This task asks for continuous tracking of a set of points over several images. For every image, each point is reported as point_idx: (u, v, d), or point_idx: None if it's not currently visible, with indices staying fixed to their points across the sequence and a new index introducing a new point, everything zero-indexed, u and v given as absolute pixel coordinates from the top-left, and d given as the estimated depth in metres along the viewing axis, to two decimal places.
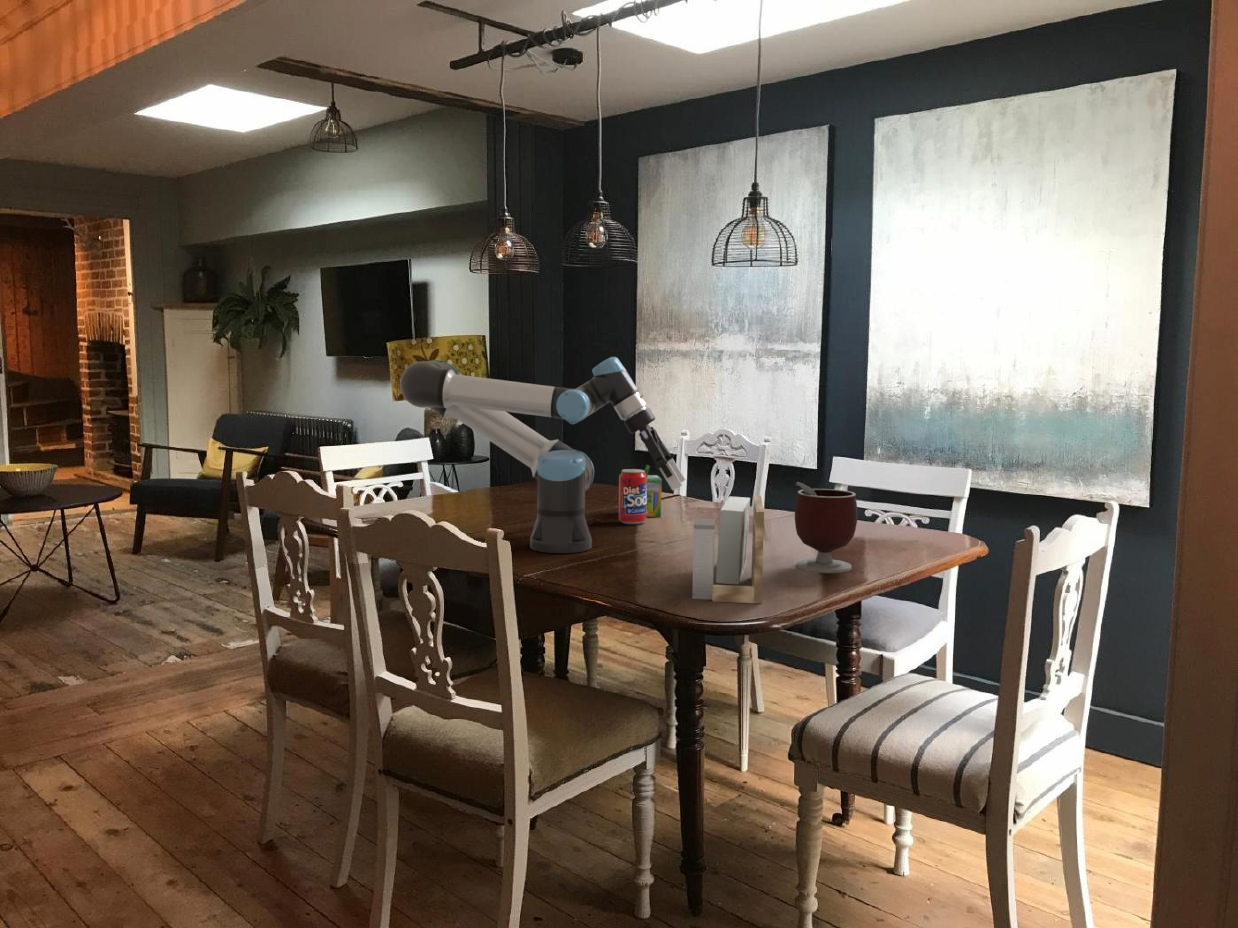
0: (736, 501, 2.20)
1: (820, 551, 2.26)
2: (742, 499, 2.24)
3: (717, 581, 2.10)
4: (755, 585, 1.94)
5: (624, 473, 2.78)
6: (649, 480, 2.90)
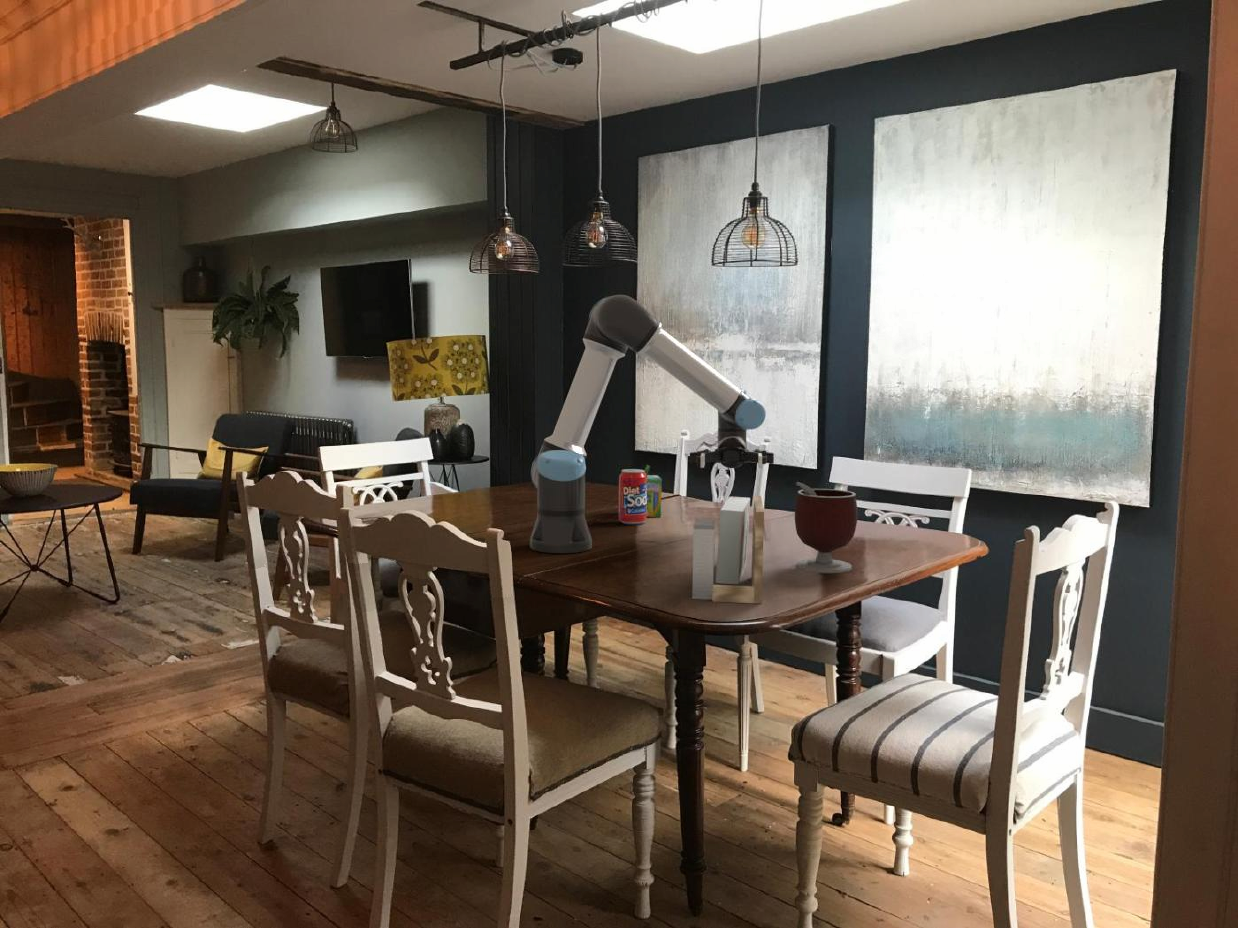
0: (736, 501, 2.20)
1: (820, 551, 2.26)
2: (742, 499, 2.24)
3: (717, 581, 2.10)
4: (755, 585, 1.94)
5: (624, 473, 2.78)
6: (649, 480, 2.90)
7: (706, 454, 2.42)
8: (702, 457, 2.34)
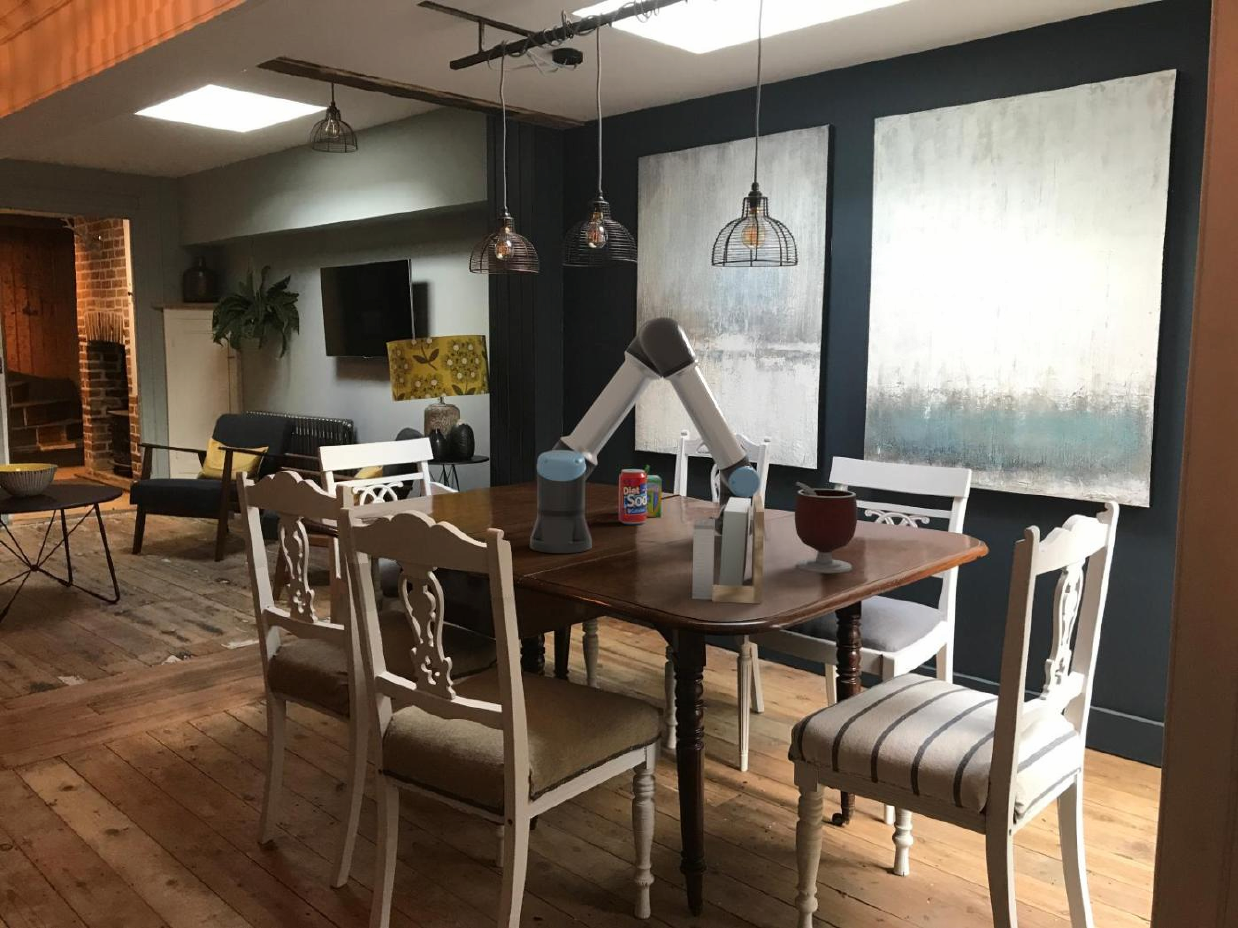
0: (738, 502, 2.18)
1: (820, 551, 2.26)
2: (743, 500, 2.22)
3: (721, 583, 2.08)
4: (755, 585, 1.94)
5: (624, 473, 2.78)
6: (649, 480, 2.90)
7: None
8: None
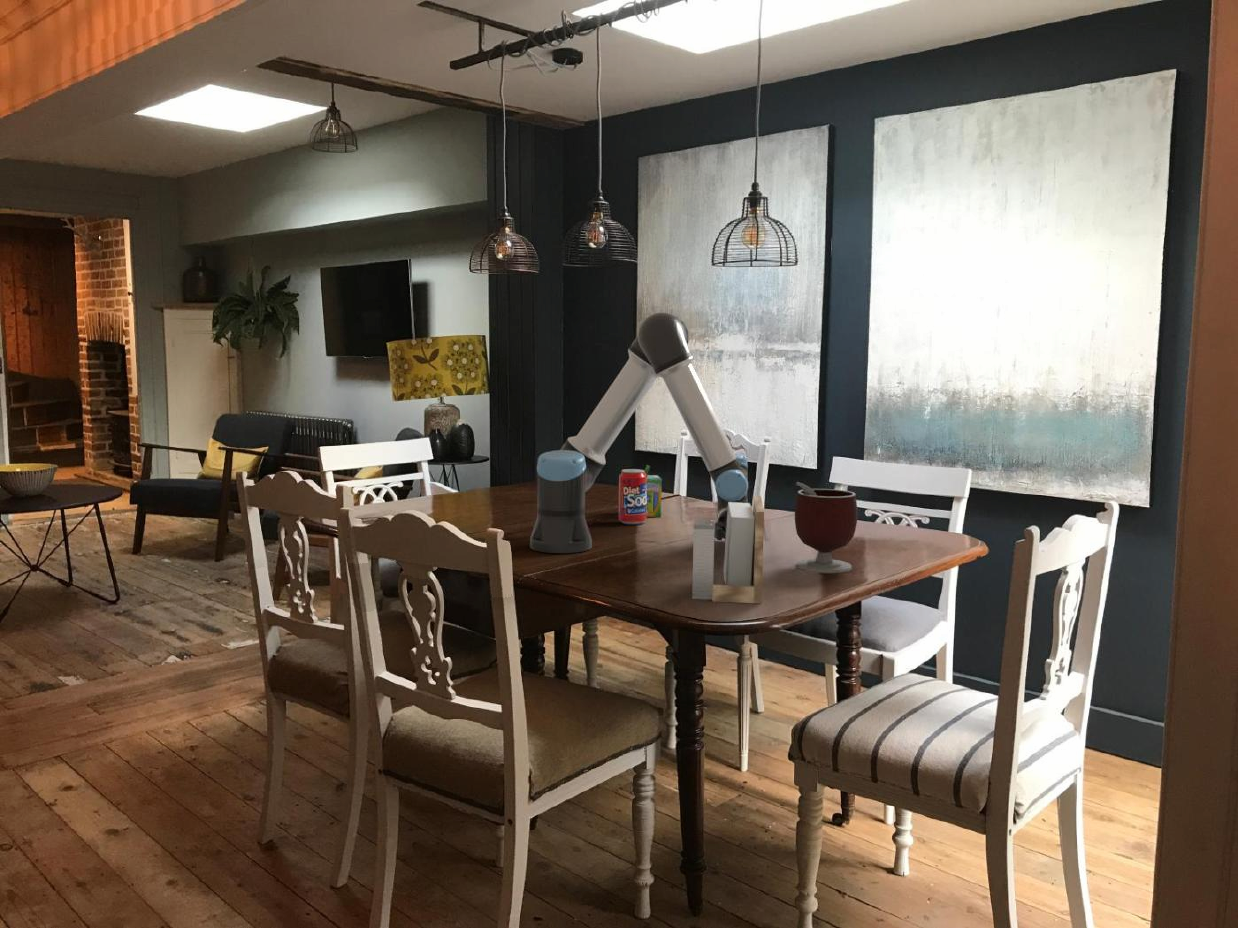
0: (740, 507, 2.11)
1: (820, 551, 2.26)
2: (744, 505, 2.15)
3: None
4: (755, 585, 1.94)
5: (624, 473, 2.78)
6: (649, 480, 2.90)
7: None
8: None
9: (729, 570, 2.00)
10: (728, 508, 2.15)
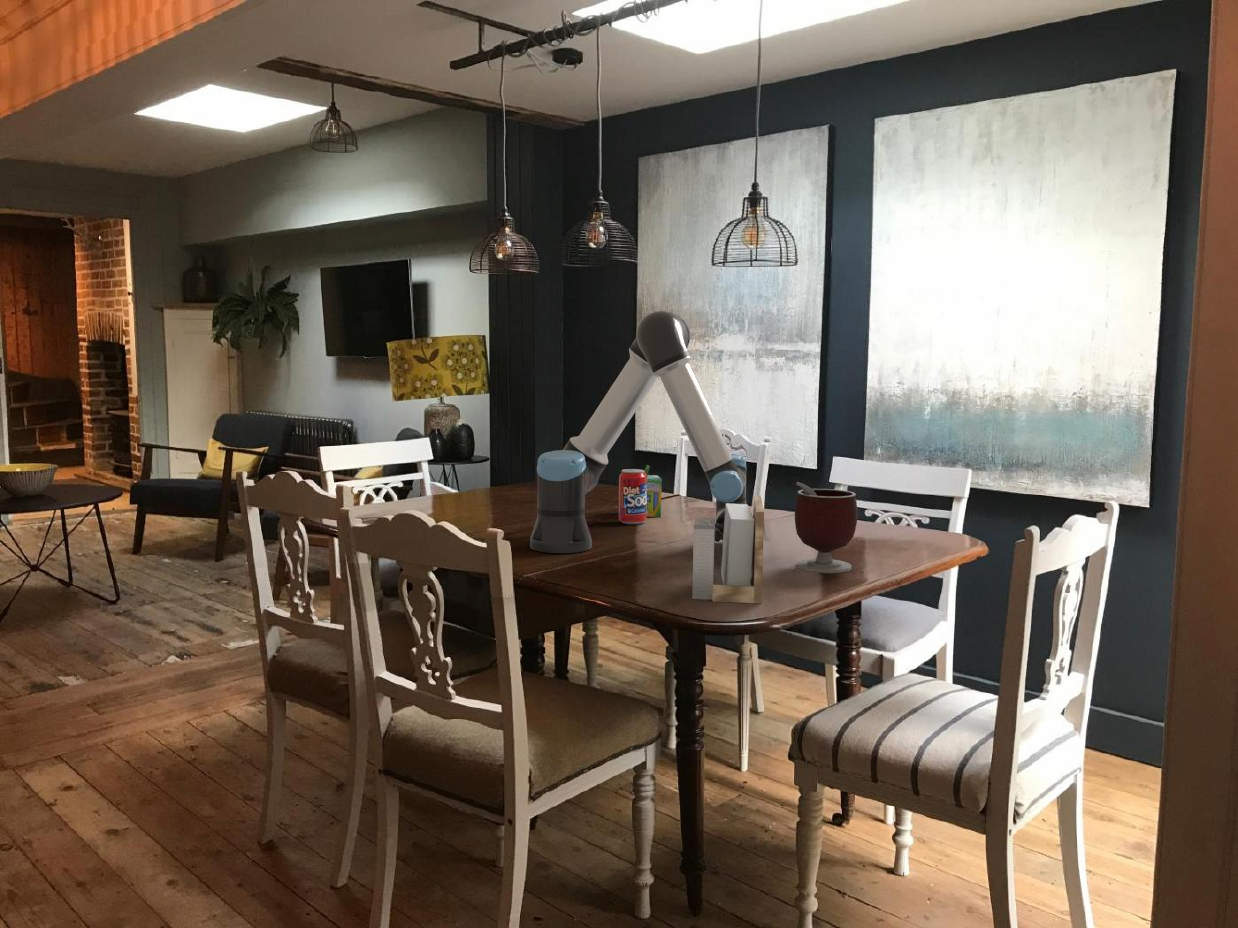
0: (738, 508, 2.09)
1: (820, 551, 2.26)
2: (742, 506, 2.13)
3: None
4: (755, 585, 1.94)
5: (624, 473, 2.78)
6: (649, 480, 2.90)
7: None
8: None
9: (728, 572, 1.98)
10: (726, 509, 2.12)
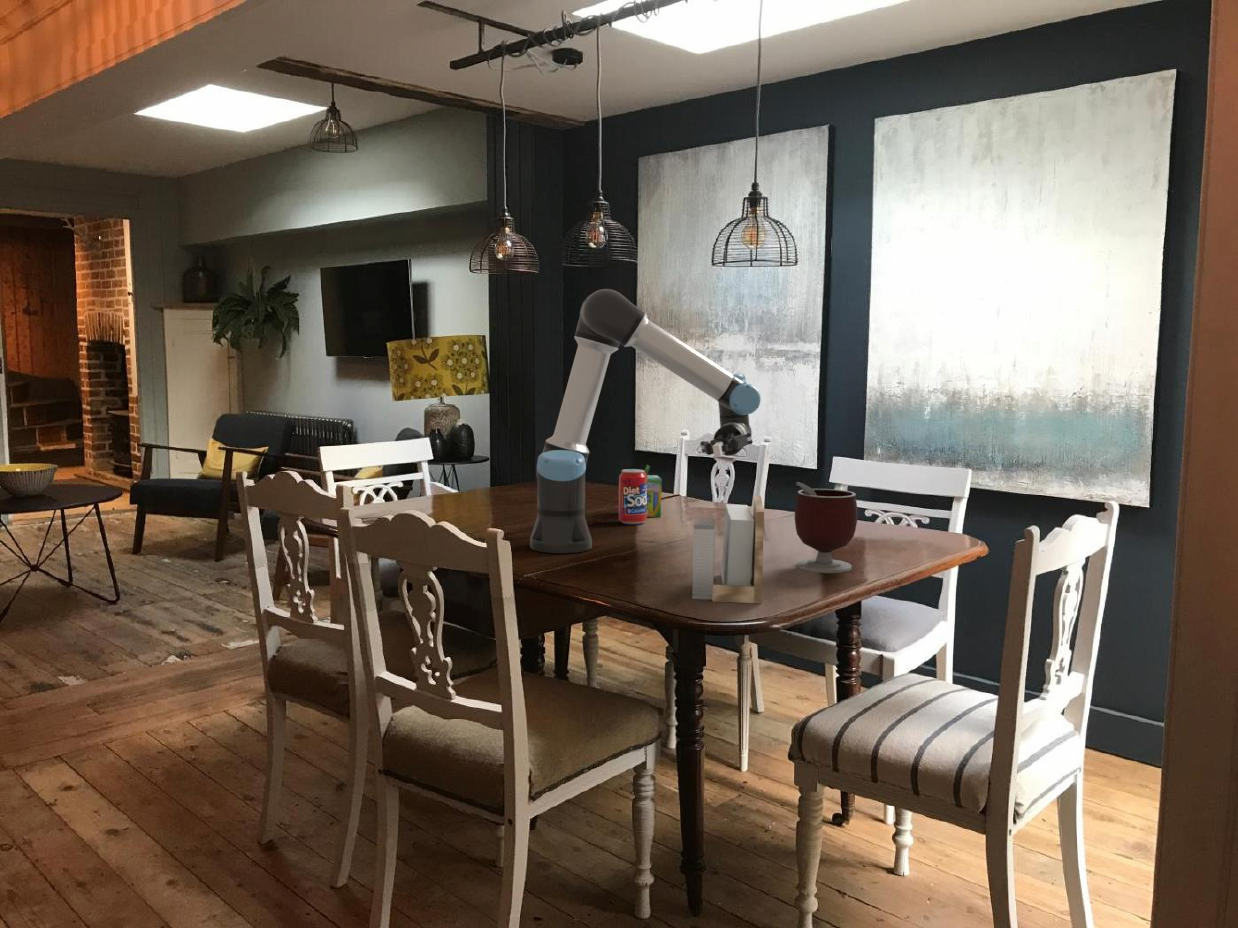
0: (738, 509, 2.09)
1: (820, 551, 2.26)
2: (741, 507, 2.13)
3: None
4: (755, 585, 1.94)
5: (624, 473, 2.78)
6: (649, 480, 2.90)
7: None
8: (714, 447, 2.28)
9: (728, 573, 1.98)
10: (726, 510, 2.12)
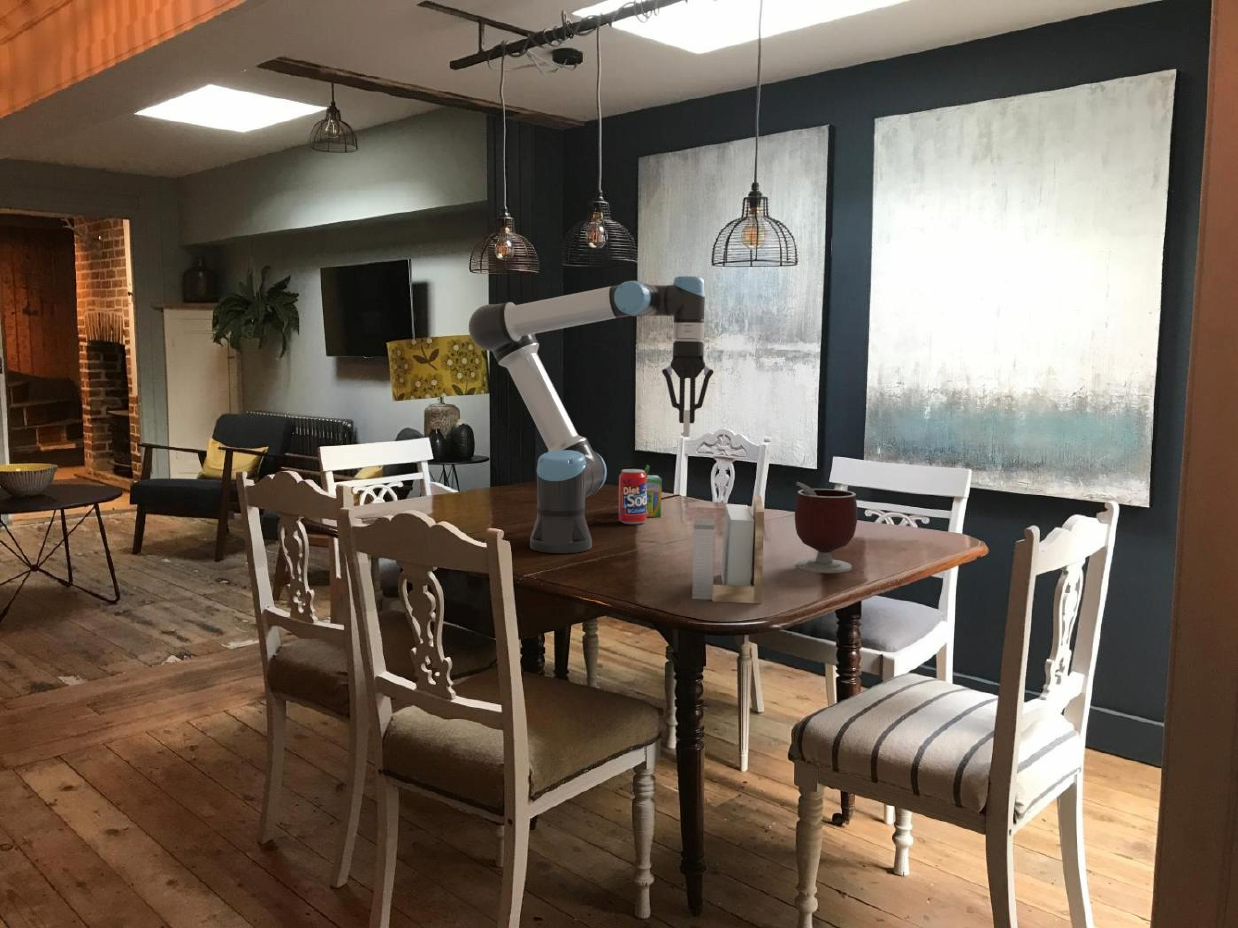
0: (738, 509, 2.09)
1: (820, 551, 2.26)
2: (741, 507, 2.13)
3: None
4: (755, 585, 1.94)
5: (624, 473, 2.78)
6: (649, 480, 2.90)
7: None
8: None
9: (728, 573, 1.98)
10: (726, 510, 2.12)
